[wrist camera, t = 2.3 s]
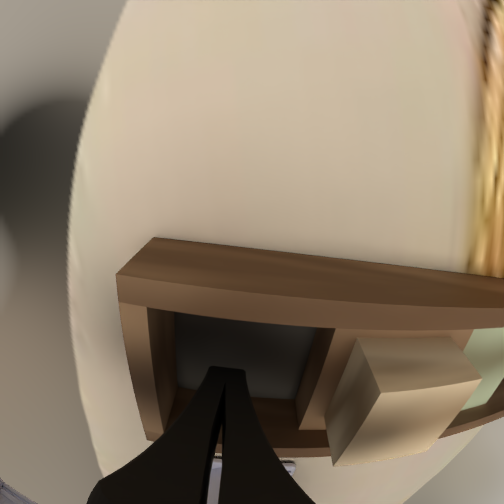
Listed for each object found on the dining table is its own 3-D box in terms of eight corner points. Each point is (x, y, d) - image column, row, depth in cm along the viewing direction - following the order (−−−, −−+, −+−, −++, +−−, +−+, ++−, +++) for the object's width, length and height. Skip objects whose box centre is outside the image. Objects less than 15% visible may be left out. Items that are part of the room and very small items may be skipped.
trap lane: (513, 378, 16) (531, 403, 12) (163, 391, 15) (147, 439, 12) (560, 285, 12) (586, 306, 9) (153, 237, 12) (115, 274, 8)
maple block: (408, 409, 12) (426, 451, 9) (323, 416, 12) (333, 466, 9) (450, 337, 10) (482, 378, 8) (357, 337, 10) (380, 393, 8)
